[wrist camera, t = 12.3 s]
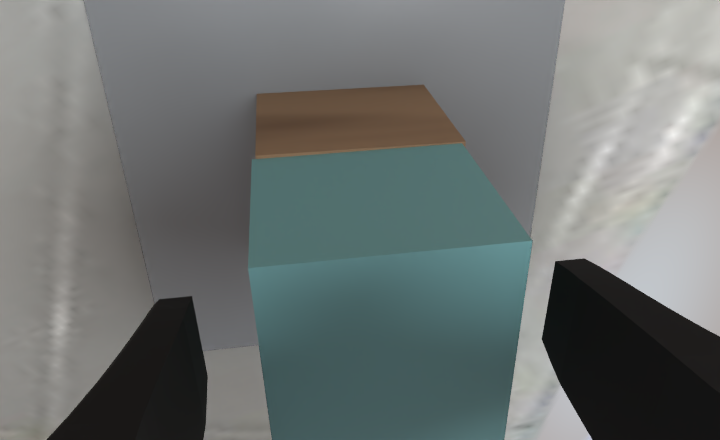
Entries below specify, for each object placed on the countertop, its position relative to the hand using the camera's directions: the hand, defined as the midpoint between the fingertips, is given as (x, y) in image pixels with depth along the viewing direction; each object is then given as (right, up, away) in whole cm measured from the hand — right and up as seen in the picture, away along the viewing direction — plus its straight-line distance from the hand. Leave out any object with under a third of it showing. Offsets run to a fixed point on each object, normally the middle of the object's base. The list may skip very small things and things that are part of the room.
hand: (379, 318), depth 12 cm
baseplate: (-1, +4, +6) cm, 8 cm away
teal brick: (0, +1, +2) cm, 2 cm away
